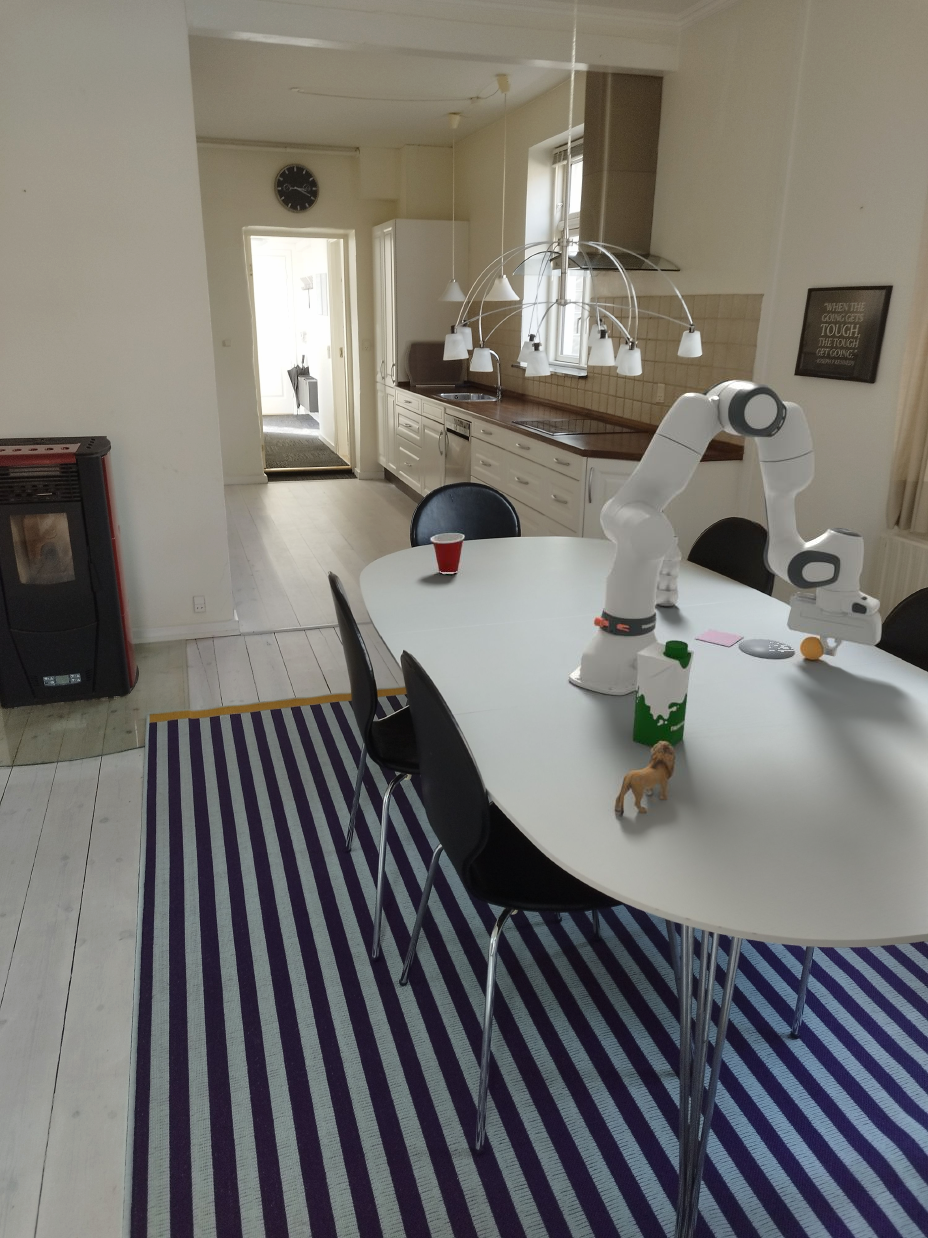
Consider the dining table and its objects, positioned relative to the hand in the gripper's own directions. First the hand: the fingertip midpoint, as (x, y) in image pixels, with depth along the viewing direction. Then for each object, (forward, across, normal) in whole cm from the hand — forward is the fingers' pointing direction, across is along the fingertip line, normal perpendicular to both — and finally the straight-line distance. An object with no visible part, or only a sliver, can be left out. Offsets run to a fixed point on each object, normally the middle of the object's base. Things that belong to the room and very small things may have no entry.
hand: (829, 654), depth 200 cm
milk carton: (+1, -12, -61) cm, 63 cm away
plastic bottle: (+2, -50, +16) cm, 52 cm away
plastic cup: (0, -119, +1) cm, 119 cm away
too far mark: (+2, -27, 0) cm, 27 cm away
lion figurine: (+1, -4, -83) cm, 83 cm away
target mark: (+2, -15, 0) cm, 15 cm away
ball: (-1, -4, 0) cm, 4 cm away
